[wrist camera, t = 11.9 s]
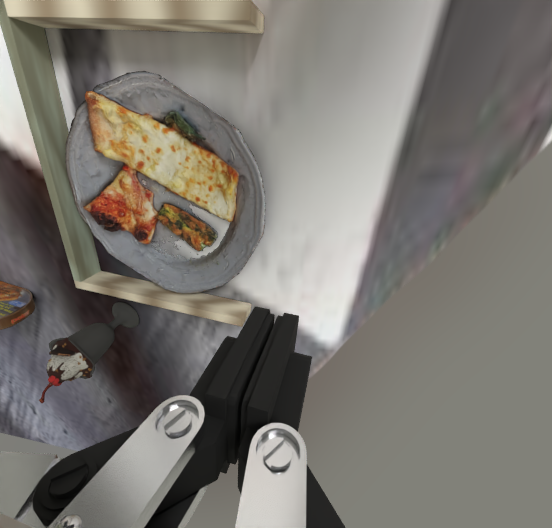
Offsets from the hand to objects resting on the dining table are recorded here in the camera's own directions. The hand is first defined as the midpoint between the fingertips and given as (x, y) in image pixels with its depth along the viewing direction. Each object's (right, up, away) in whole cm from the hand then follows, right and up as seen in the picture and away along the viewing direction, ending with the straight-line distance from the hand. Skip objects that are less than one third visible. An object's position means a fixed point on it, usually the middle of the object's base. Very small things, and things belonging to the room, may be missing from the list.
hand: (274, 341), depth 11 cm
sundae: (-24, -5, +35) cm, 43 cm away
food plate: (-13, +11, +24) cm, 30 cm away
